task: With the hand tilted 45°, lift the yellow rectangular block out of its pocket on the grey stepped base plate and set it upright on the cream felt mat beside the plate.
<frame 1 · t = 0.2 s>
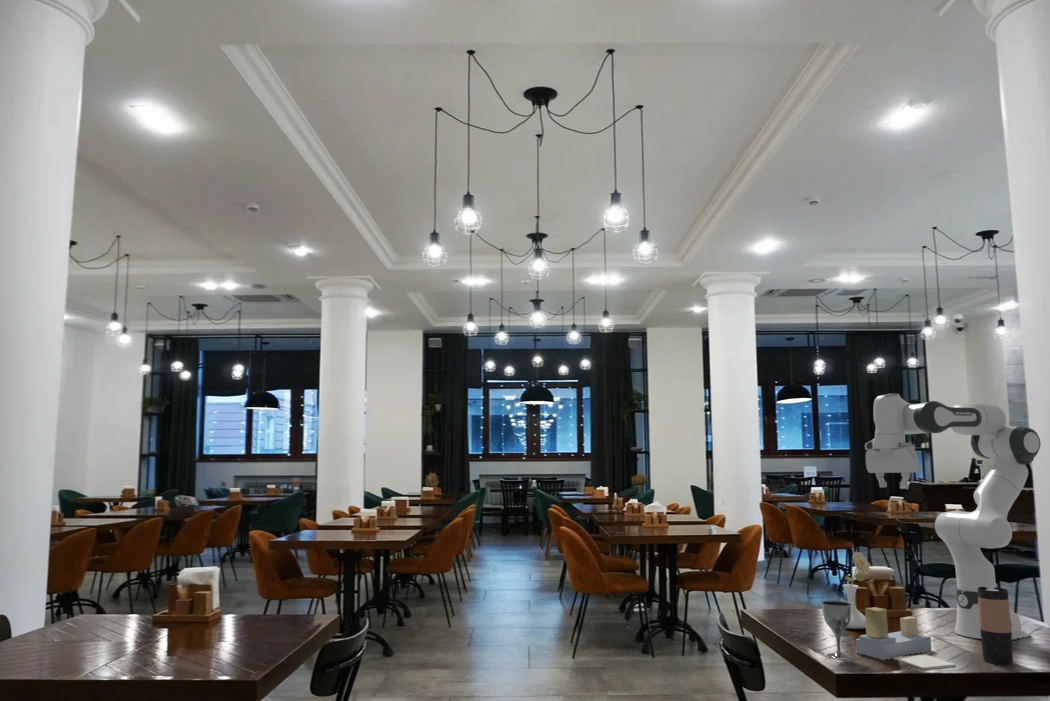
hand: (893, 487, 248), 48 cm above the table, tool pointing down, fingers open, 8 cm apart
grey stepped base plate: (894, 651, 231), on the table
felt mat: (924, 662, 219), on the table
travel mug: (998, 662, 220), on the table
flower in vase: (855, 628, 263), on the table
yellow rectangular block: (877, 640, 228), point 4 cm above the table, touching grey stepped base plate
wine glass: (839, 657, 226), on the table
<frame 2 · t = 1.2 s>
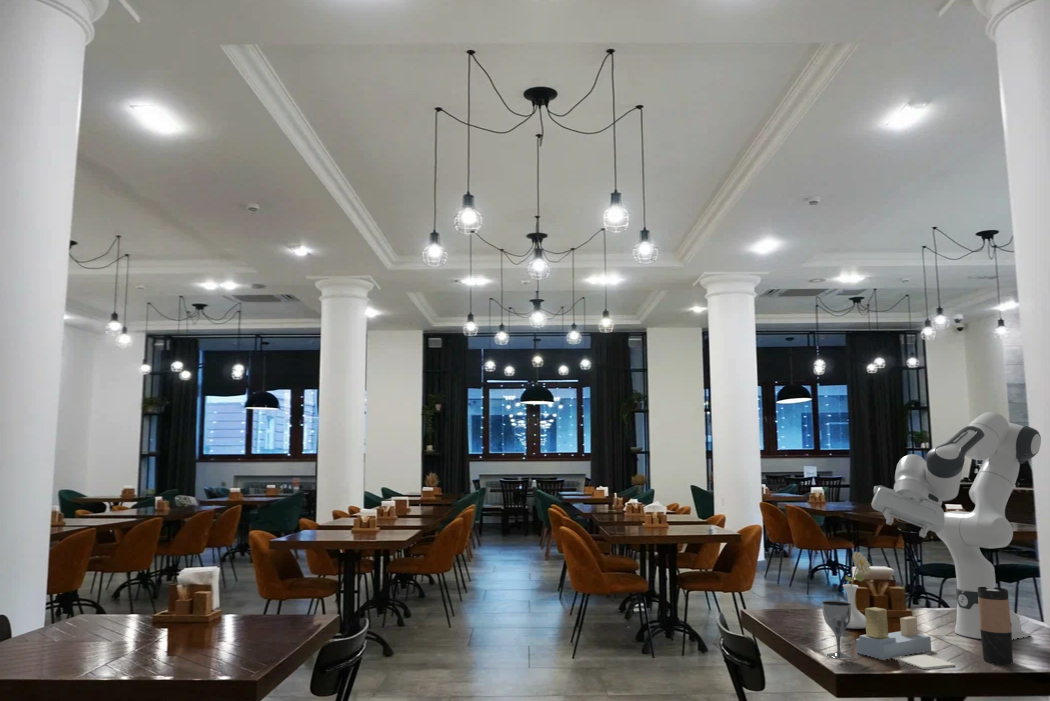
hand: (906, 529, 229), 36 cm above the table, tool tilted 50°, fingers open, 8 cm apart
nothing on the table moved.
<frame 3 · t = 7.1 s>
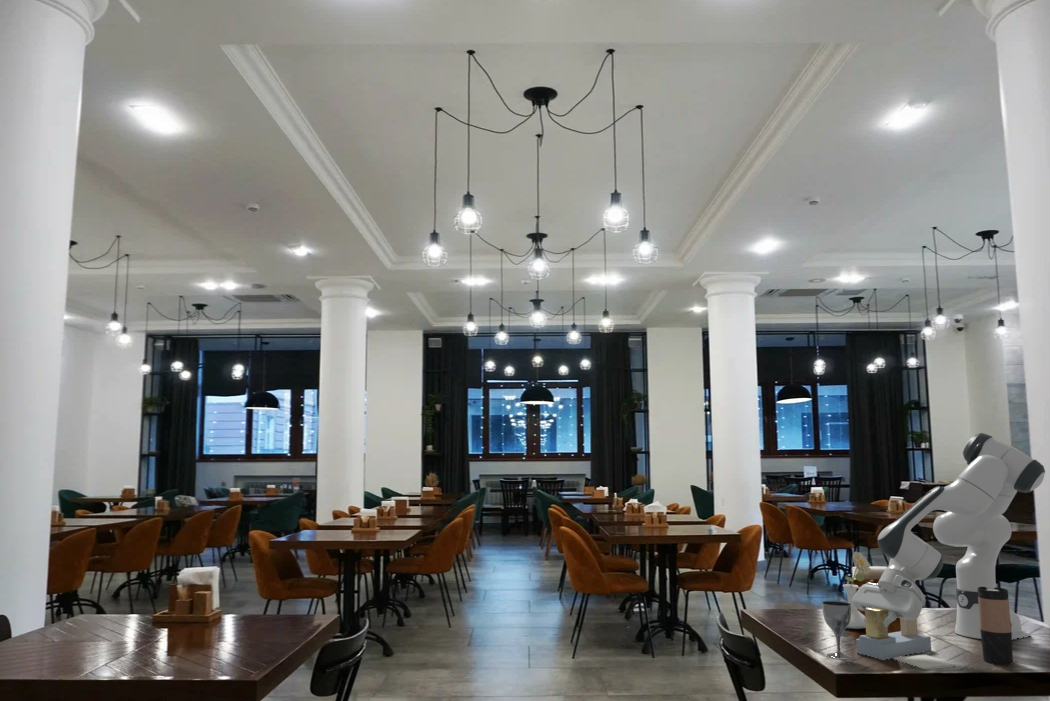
hand: (875, 624, 228), 9 cm above the table, tool tilted 45°, fingers closed on yellow rectangular block, 4 cm apart
yellow rectangular block: (877, 640, 228), point 4 cm above the table, touching gripper, grey stepped base plate
everything else where it was.
when the fingers open (7 cm above the table, at t = 13.3 s): yellow rectangular block drops 2 cm, resting on felt mat.
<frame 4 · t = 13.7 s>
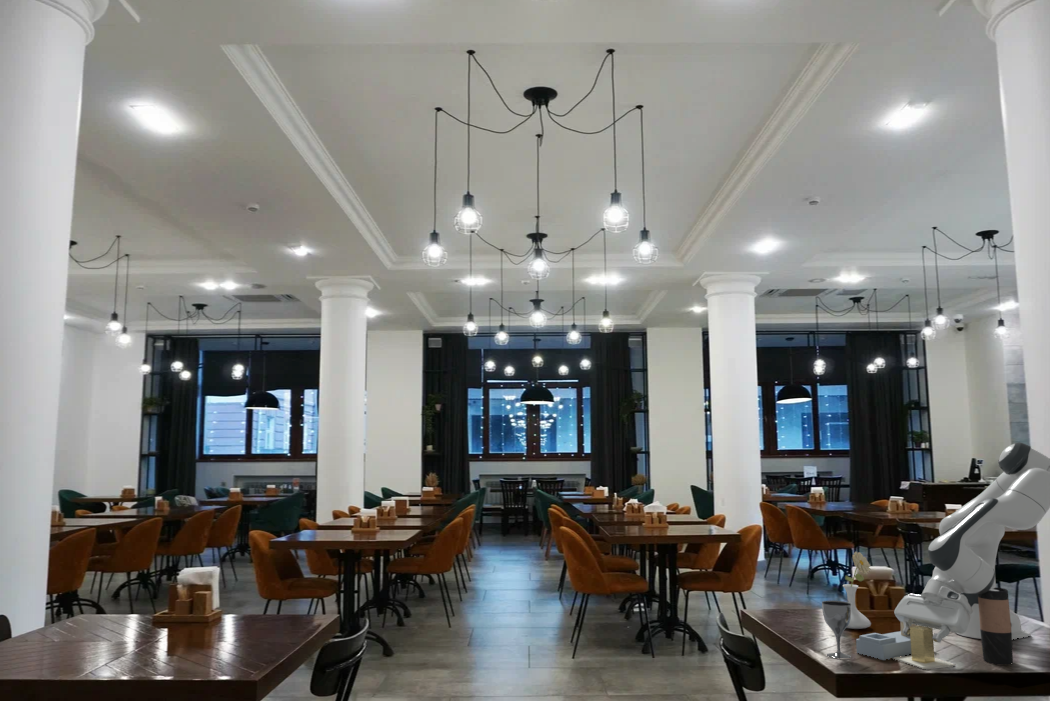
hand: (920, 637, 219), 7 cm above the table, tool tilted 45°, fingers open, 8 cm apart
travel mug: (998, 662, 220), on the table, touching arm
yellow rectangular block: (923, 660, 219), point 1 cm above the table, touching felt mat
everything else where it was.
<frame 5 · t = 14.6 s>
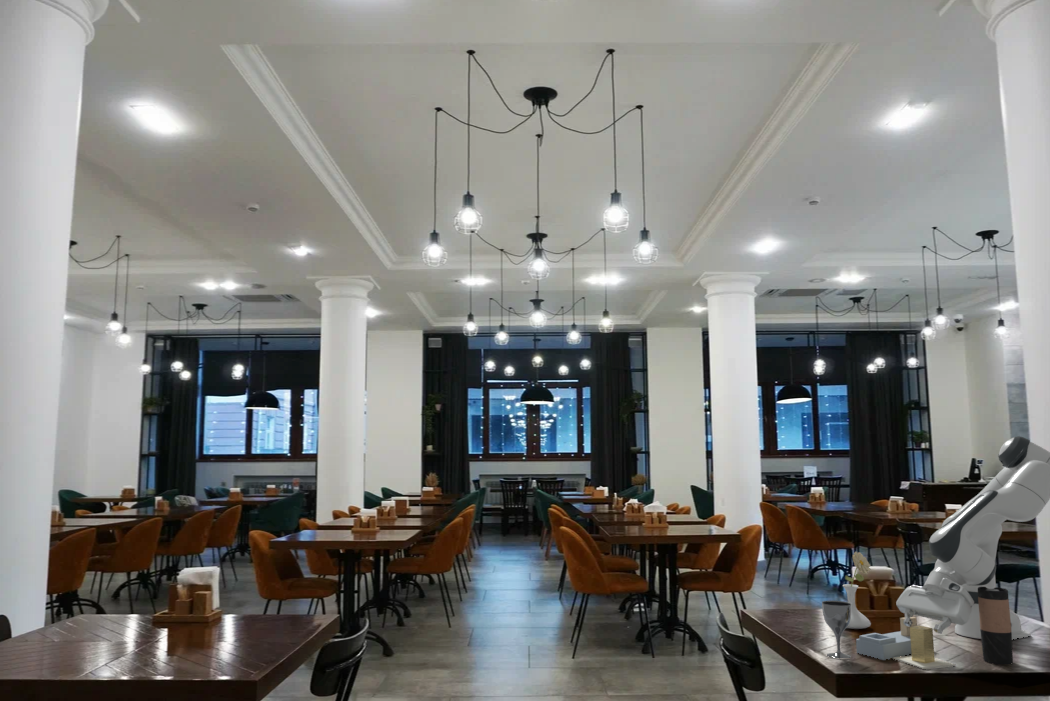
hand: (921, 628, 222), 9 cm above the table, tool tilted 45°, fingers open, 8 cm apart
travel mug: (998, 662, 220), on the table
everything else where it was.
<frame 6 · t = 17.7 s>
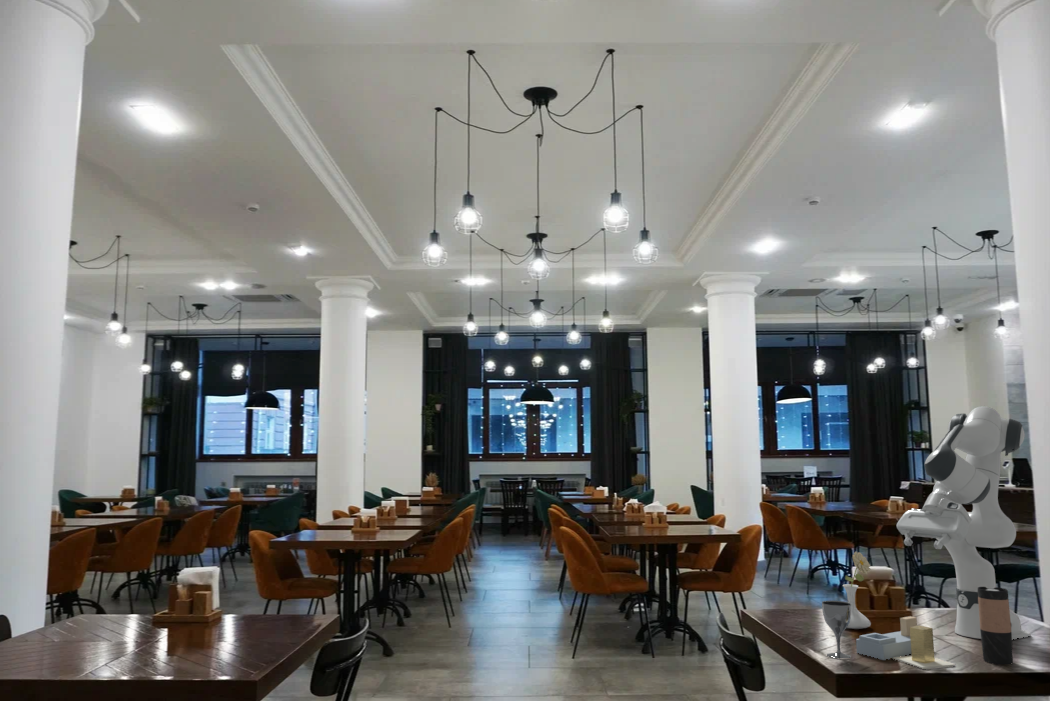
hand: (921, 546, 229), 31 cm above the table, tool tilted 45°, fingers open, 8 cm apart
nothing on the table moved.
at the end: yellow rectangular block inside the target area on the felt mat (0.3 cm from its centre), point 0.6 cm above the felt mat's base; yellow rectangular block tilted 0°; the gripper is holding nothing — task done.
